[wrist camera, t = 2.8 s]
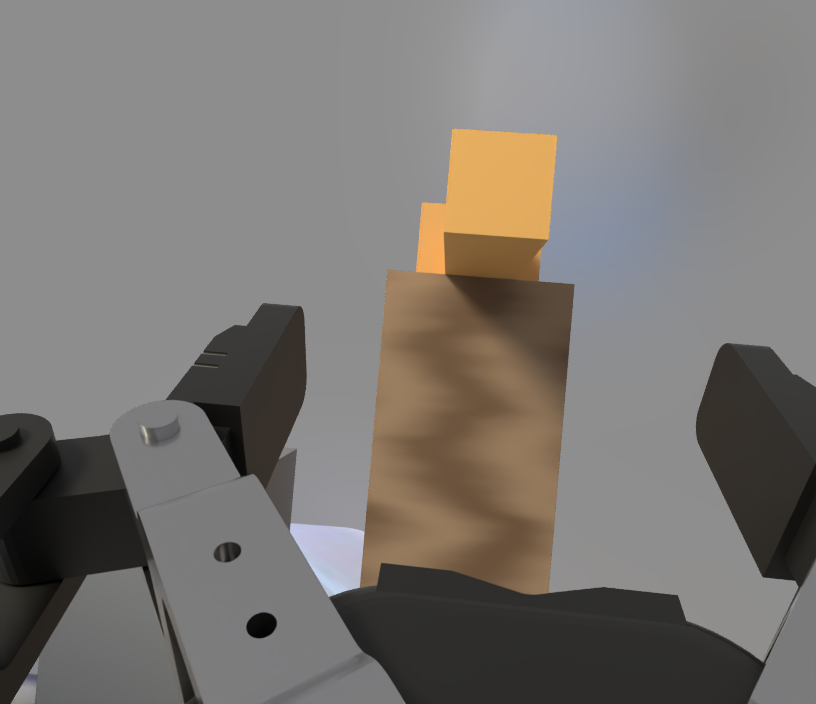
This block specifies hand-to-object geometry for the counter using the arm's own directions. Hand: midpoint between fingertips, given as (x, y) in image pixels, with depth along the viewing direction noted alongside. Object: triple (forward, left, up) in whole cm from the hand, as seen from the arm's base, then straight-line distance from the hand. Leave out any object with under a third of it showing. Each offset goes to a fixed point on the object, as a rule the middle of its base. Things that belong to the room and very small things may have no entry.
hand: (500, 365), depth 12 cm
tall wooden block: (0, +21, -28) cm, 35 cm away
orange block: (0, +15, +4) cm, 16 cm away
